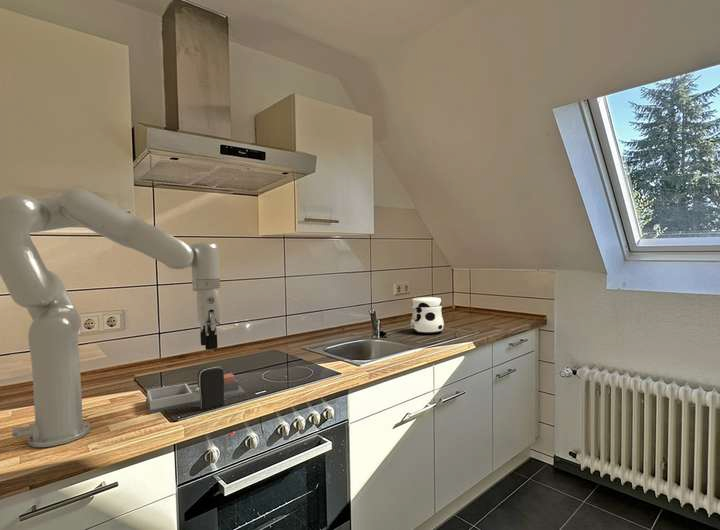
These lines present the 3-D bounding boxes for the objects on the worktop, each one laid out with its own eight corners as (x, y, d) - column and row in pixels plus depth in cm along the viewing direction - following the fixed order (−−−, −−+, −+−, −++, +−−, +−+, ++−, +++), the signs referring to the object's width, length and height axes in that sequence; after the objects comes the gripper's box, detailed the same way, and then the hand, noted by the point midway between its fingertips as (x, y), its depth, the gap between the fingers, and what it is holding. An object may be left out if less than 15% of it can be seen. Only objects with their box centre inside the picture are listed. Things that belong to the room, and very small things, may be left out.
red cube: (222, 391, 130) (222, 378, 130) (219, 387, 133) (219, 375, 133) (235, 388, 132) (234, 376, 132) (232, 385, 135) (231, 373, 135)
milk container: (448, 330, 222) (447, 297, 221) (436, 336, 207) (435, 301, 206) (418, 328, 231) (418, 296, 230) (405, 334, 216) (404, 300, 216)
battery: (220, 401, 124) (219, 363, 124) (225, 404, 121) (224, 366, 121) (197, 407, 120) (195, 368, 119) (201, 411, 117) (200, 371, 116)
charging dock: (149, 414, 116) (148, 401, 115) (146, 401, 126) (145, 390, 126) (245, 394, 130) (244, 383, 129) (235, 384, 140) (234, 374, 140)
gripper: (226, 286, 114) (229, 350, 114) (213, 283, 129) (215, 340, 129) (198, 288, 110) (201, 354, 111) (187, 284, 125) (190, 343, 125)
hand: (209, 346), depth 120 cm, fingers open, 6 cm apart
